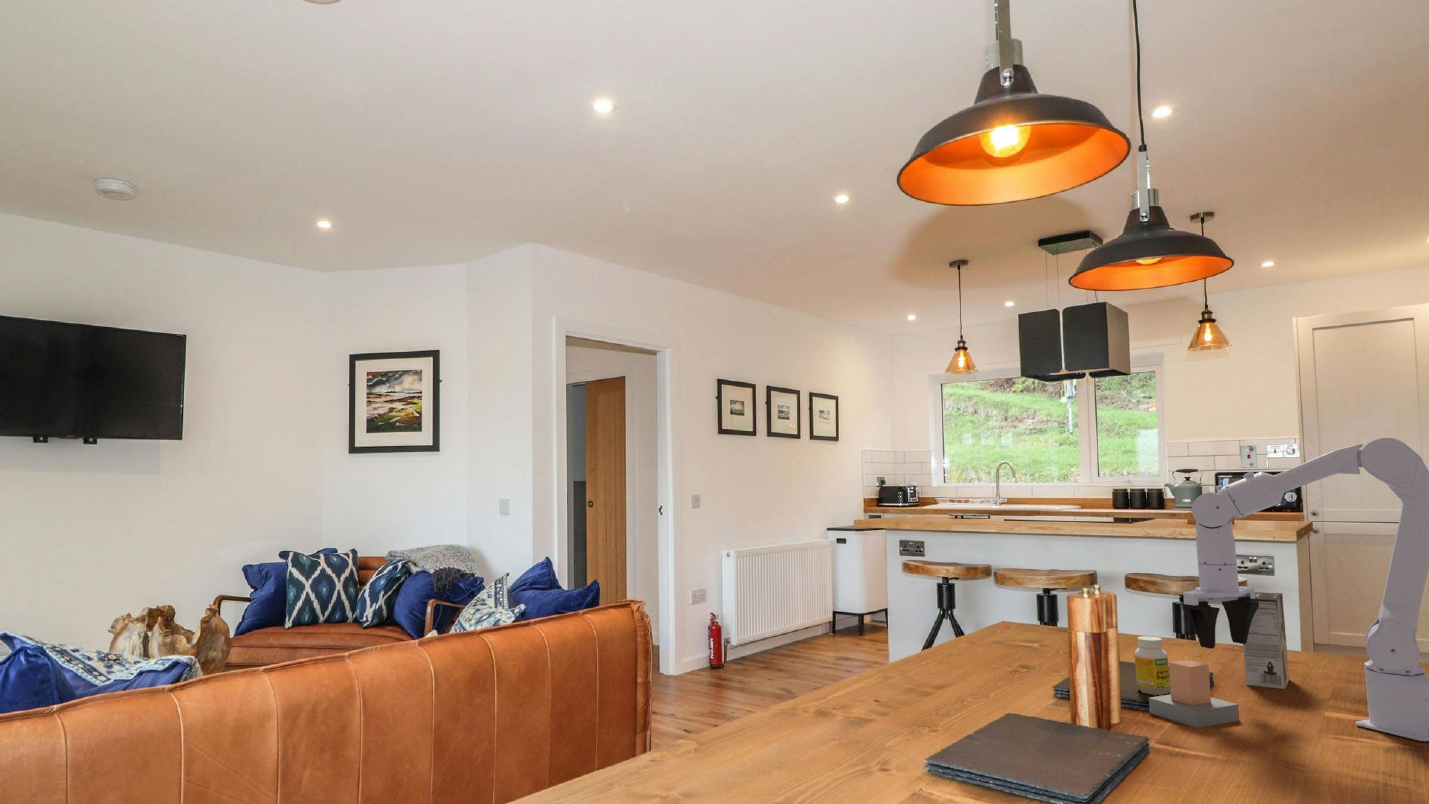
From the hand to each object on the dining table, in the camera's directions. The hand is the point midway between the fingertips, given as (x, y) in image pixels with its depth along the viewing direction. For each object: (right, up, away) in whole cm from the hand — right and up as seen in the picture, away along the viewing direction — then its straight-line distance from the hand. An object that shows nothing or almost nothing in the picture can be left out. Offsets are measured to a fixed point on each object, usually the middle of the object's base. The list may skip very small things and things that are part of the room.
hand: (1223, 645), depth 143 cm
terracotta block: (-8, -8, -5) cm, 12 cm away
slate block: (-8, -11, -5) cm, 14 cm away
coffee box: (+17, -12, +15) cm, 26 cm away
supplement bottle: (-6, -12, +10) cm, 17 cm away
